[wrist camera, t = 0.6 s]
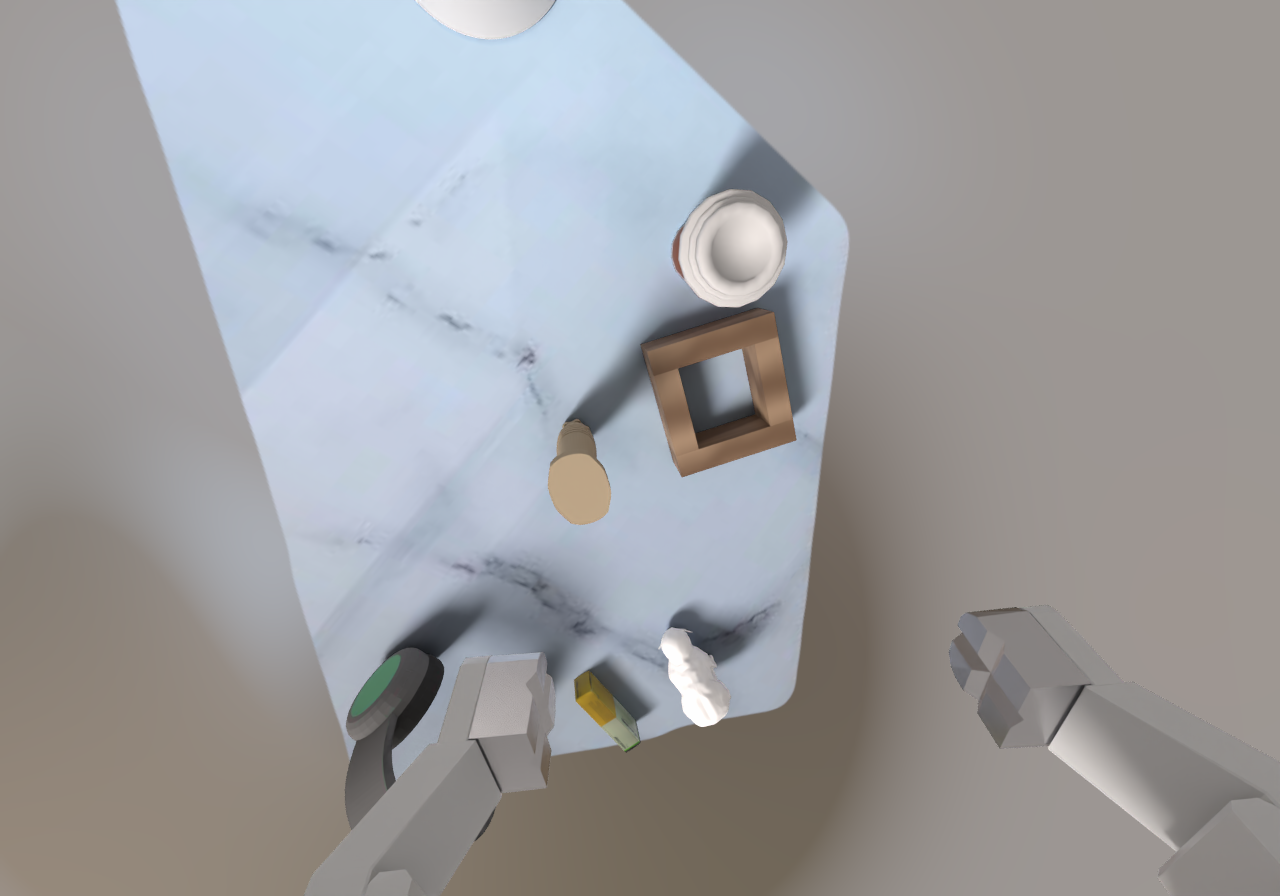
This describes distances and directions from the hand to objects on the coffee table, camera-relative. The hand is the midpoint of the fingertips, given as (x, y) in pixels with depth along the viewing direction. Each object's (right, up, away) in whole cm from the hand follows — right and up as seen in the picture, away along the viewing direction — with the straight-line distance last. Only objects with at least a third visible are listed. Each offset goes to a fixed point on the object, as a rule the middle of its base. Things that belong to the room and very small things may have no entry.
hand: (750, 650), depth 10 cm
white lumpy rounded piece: (+4, -23, +59) cm, 63 cm away
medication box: (-7, -30, +60) cm, 68 cm away
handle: (-9, +6, +46) cm, 47 cm away
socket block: (+6, +11, +46) cm, 48 cm away
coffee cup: (+4, +24, +41) cm, 48 cm away
